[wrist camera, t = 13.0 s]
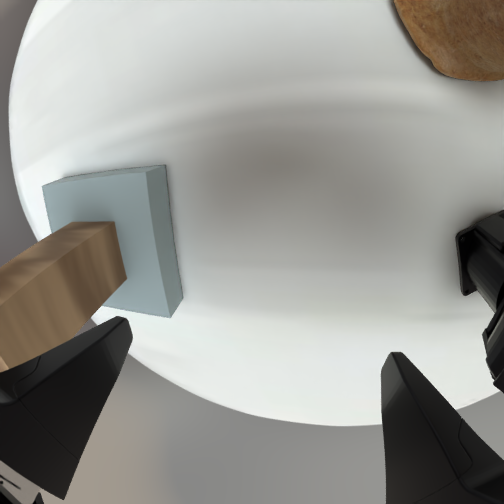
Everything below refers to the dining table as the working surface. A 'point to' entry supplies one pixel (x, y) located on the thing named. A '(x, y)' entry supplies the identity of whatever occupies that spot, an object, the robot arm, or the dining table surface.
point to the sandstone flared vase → (458, 35)
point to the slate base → (127, 231)
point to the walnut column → (56, 288)
